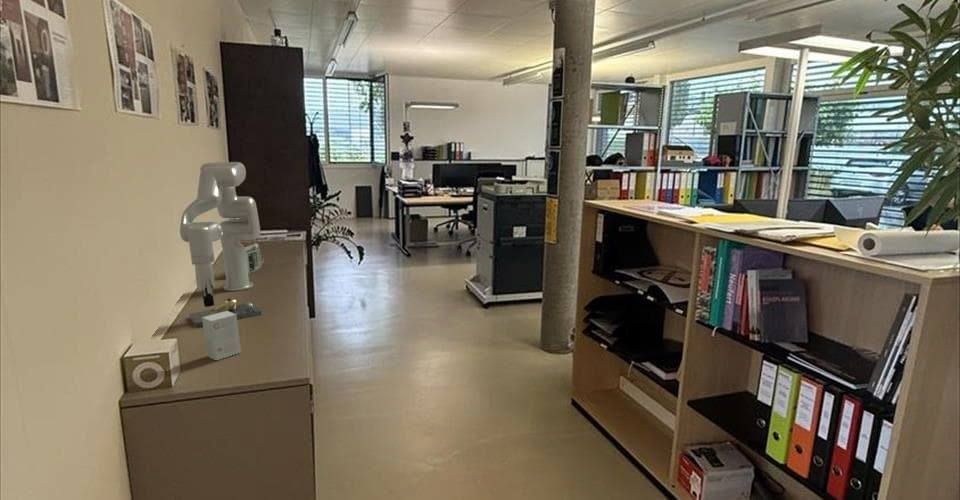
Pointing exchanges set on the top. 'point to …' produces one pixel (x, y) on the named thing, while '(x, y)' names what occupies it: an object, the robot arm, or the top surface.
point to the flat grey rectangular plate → (240, 312)
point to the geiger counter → (253, 257)
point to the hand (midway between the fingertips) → (209, 305)
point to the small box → (221, 335)
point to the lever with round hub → (225, 306)
